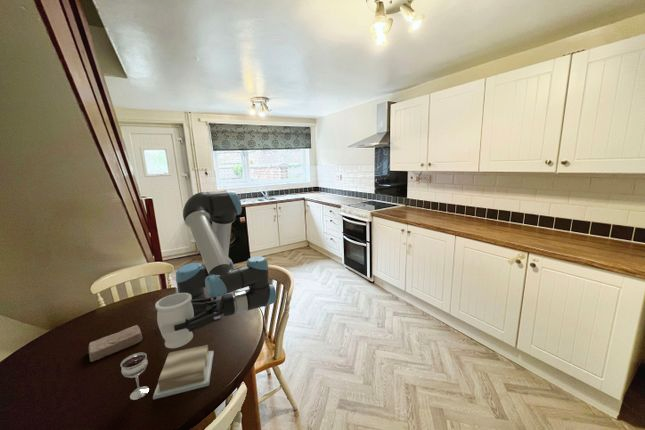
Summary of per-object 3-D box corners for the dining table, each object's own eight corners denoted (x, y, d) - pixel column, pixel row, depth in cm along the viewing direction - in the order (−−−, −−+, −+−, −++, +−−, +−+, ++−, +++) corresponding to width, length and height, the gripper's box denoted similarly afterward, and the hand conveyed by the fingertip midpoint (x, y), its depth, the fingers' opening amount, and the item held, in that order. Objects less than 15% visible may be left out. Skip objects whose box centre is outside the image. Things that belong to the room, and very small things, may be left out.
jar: (183, 327, 93) (178, 290, 91) (203, 335, 89) (198, 295, 86) (154, 345, 84) (147, 304, 81) (174, 355, 79) (168, 311, 77)
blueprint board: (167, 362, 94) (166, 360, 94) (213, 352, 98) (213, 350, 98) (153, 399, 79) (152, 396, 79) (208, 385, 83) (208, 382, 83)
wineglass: (126, 390, 82) (120, 358, 80) (151, 380, 86) (146, 349, 84) (125, 406, 77) (119, 372, 74) (152, 394, 80) (147, 361, 78)
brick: (90, 363, 94) (88, 352, 94) (89, 352, 100) (87, 341, 99) (143, 342, 106) (142, 332, 105) (139, 333, 112) (138, 323, 111)
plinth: (170, 362, 93) (169, 352, 92) (208, 354, 96) (207, 344, 96) (159, 391, 80) (158, 380, 80) (204, 380, 84) (203, 370, 84)
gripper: (240, 329, 84) (161, 352, 74) (230, 299, 104) (167, 314, 94) (238, 308, 83) (158, 329, 73) (228, 282, 103) (165, 295, 93)
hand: (163, 320), depth 83 cm, fingers closed on jar, 10 cm apart
